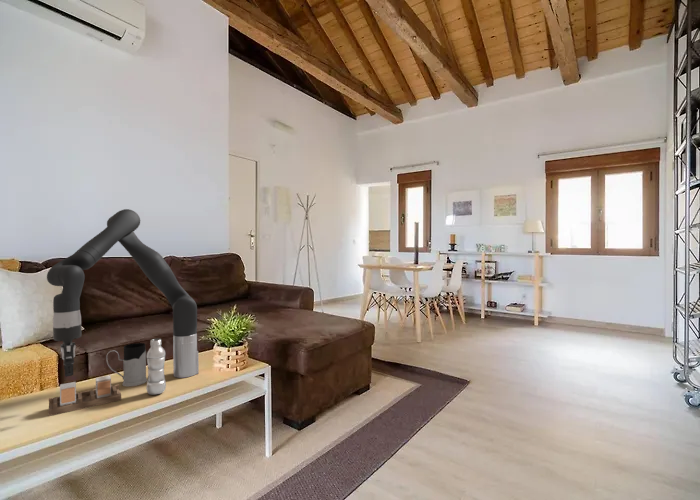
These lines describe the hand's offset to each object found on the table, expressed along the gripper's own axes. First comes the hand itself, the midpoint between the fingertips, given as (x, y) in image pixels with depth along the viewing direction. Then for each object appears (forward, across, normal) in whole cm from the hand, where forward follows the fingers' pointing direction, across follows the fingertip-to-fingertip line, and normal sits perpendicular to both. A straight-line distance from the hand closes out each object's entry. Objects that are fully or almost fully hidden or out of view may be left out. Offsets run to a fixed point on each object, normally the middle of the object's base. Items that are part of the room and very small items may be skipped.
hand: (68, 372), depth 122 cm
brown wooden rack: (+12, -1, +4) cm, 13 cm away
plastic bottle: (+13, +4, +25) cm, 29 cm away
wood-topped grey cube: (+10, -1, 0) cm, 10 cm away
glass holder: (+13, -15, +19) cm, 27 cm away
